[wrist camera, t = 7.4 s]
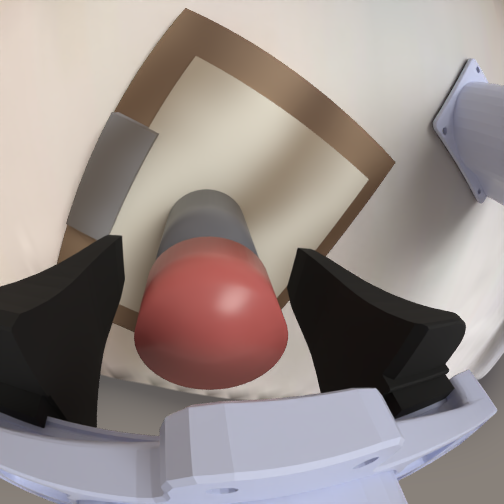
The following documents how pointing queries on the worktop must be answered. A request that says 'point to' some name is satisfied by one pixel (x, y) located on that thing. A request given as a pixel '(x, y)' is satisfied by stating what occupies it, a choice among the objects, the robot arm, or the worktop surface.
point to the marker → (209, 299)
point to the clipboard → (222, 156)
